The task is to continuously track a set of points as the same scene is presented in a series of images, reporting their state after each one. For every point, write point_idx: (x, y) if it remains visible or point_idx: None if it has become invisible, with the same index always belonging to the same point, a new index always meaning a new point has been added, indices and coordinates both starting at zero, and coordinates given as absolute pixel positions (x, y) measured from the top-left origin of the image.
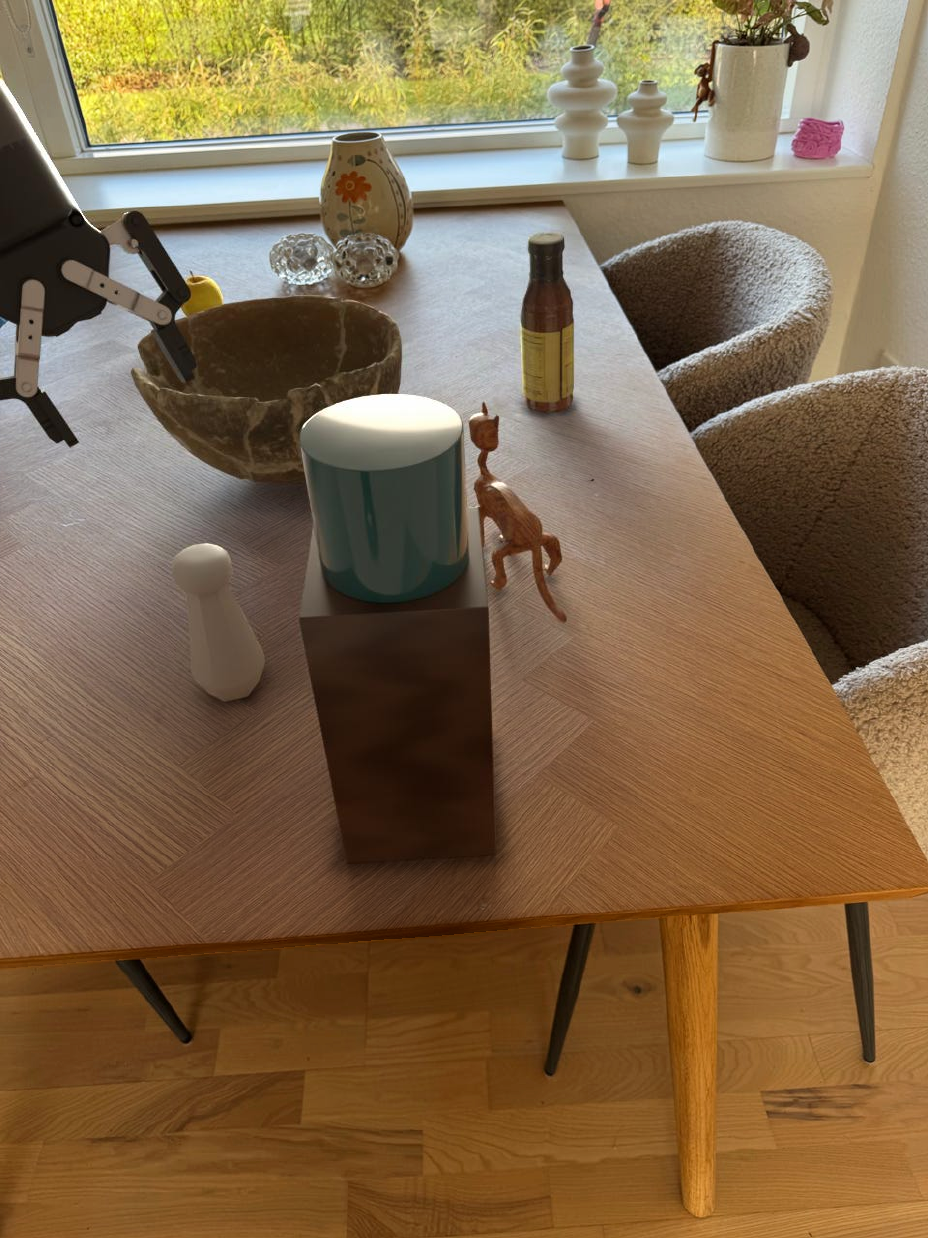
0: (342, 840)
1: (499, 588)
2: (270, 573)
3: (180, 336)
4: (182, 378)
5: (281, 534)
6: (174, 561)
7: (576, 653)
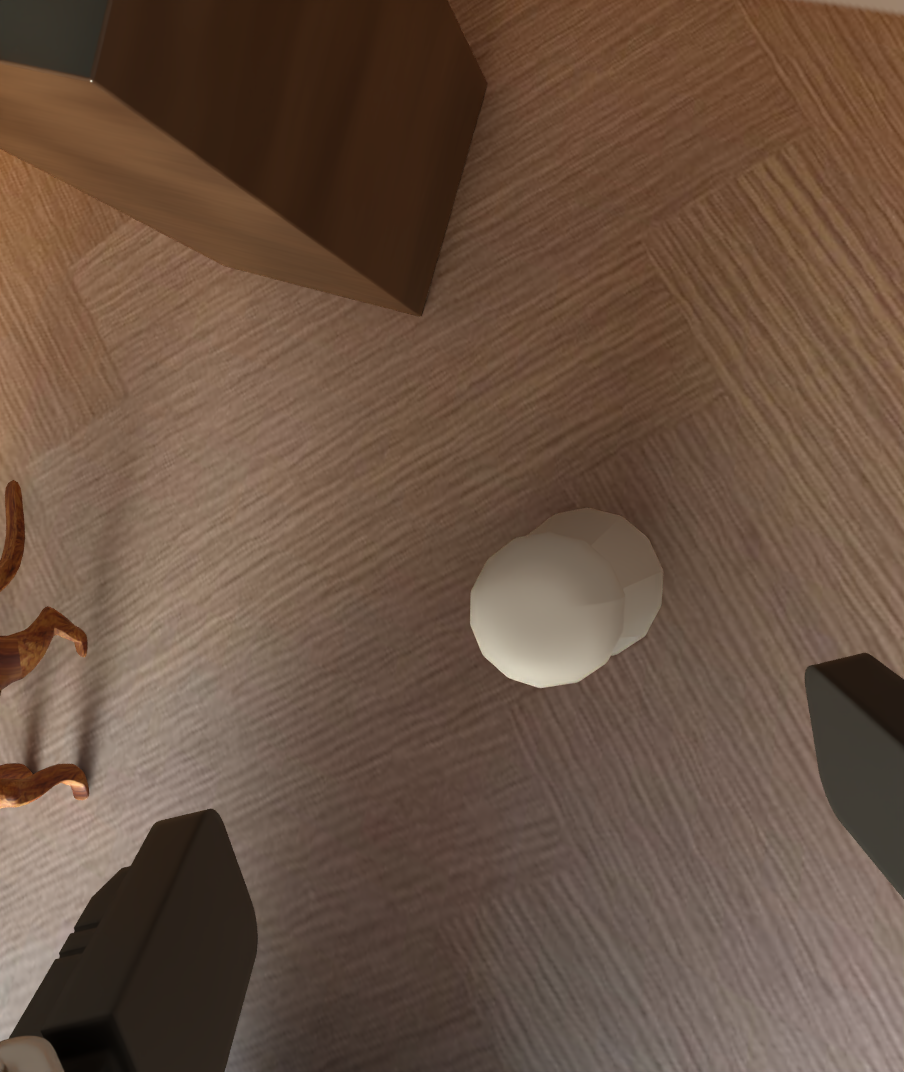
0: (472, 54)
1: (78, 628)
2: (461, 907)
3: (42, 994)
4: (221, 850)
5: (412, 1040)
6: (607, 622)
7: (35, 425)
